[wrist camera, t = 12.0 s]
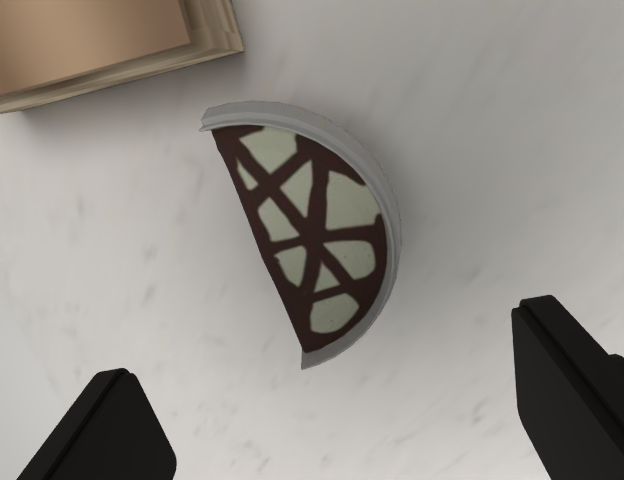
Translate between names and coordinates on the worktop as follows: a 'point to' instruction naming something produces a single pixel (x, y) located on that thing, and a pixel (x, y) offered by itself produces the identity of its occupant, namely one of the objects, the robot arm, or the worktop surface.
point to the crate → (209, 45)
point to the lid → (83, 37)
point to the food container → (313, 218)
